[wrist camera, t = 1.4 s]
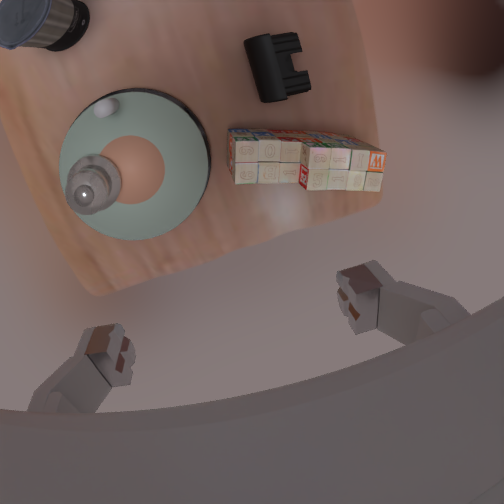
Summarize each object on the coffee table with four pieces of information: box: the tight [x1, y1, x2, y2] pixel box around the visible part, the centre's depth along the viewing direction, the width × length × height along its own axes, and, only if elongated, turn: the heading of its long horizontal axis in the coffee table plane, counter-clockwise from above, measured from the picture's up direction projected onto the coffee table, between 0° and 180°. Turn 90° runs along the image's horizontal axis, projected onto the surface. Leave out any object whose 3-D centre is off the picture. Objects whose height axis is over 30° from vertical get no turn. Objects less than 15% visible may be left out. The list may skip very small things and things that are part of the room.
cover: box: [65, 154, 122, 215], centre depth 38 cm, size 9×9×6 cm
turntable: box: [59, 92, 208, 240], centre depth 40 cm, size 24×24×6 cm
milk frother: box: [0, 0, 90, 51], centre depth 20 cm, size 14×16×15 cm
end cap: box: [243, 32, 311, 103], centre depth 37 cm, size 10×7×7 cm
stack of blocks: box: [227, 129, 387, 192], centre depth 43 cm, size 21×6×12 cm, turn 87°
